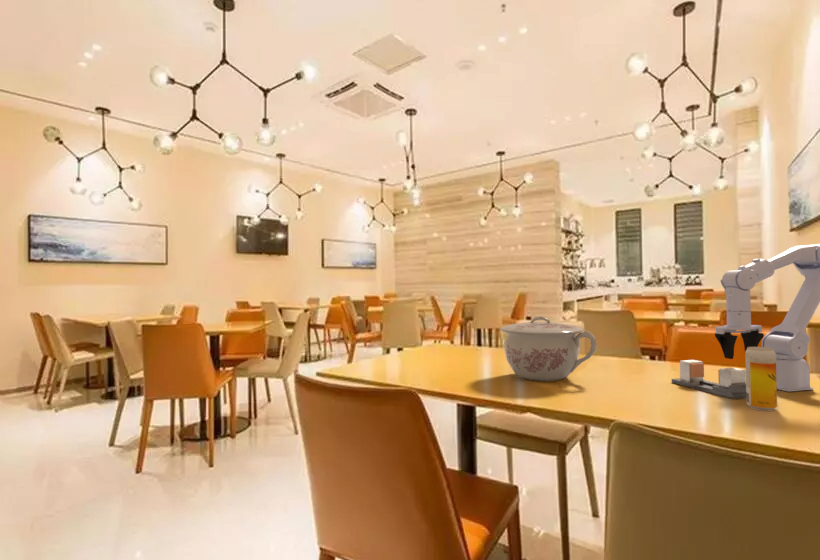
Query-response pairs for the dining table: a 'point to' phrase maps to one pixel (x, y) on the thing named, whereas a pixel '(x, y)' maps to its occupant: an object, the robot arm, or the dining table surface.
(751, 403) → the beer can
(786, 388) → the robot arm
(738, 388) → the rail
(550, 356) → the chamber pot
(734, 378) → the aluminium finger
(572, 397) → the dining table surface
